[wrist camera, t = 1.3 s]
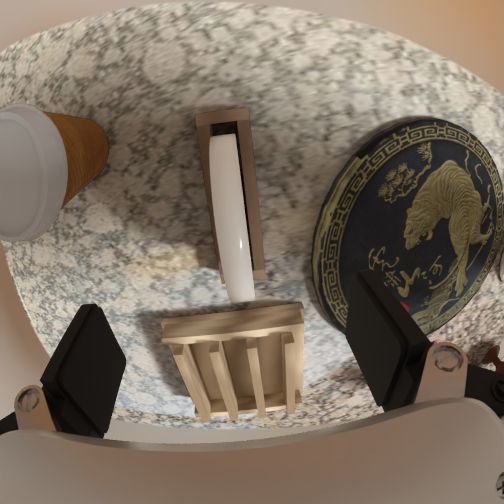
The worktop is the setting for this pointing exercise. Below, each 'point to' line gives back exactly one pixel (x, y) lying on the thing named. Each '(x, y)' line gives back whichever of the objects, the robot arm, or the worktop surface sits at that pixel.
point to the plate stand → (248, 177)
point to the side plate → (230, 218)
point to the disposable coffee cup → (43, 166)
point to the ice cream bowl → (494, 359)
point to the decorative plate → (411, 222)
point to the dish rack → (240, 359)
